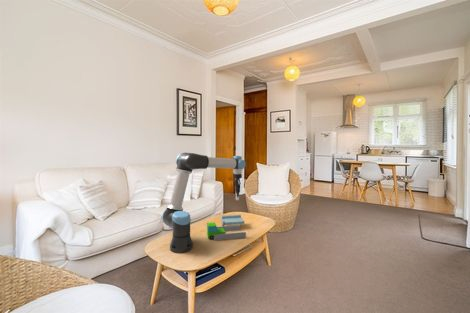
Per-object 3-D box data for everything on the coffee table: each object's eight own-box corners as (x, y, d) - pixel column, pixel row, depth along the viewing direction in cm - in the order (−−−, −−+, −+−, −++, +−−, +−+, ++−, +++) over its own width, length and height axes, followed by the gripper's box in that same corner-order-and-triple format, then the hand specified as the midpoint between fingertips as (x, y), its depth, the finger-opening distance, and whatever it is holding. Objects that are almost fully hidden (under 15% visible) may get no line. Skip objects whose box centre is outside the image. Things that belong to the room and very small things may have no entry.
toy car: (226, 239, 168) (226, 225, 167) (208, 240, 165) (208, 226, 164) (223, 233, 178) (223, 221, 177) (206, 235, 175) (206, 222, 174)
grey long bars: (214, 240, 165) (214, 234, 165) (211, 232, 181) (211, 227, 181) (245, 237, 170) (245, 232, 170) (240, 229, 186) (240, 224, 186)
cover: (244, 228, 187) (244, 219, 187) (222, 230, 183) (222, 220, 183) (240, 223, 200) (240, 214, 200) (219, 225, 196) (219, 215, 195)
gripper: (243, 174, 194) (243, 201, 195) (239, 172, 206) (239, 198, 208) (235, 174, 192) (234, 202, 193) (231, 172, 205) (231, 198, 206)
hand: (237, 200), depth 200 cm, fingers closed
